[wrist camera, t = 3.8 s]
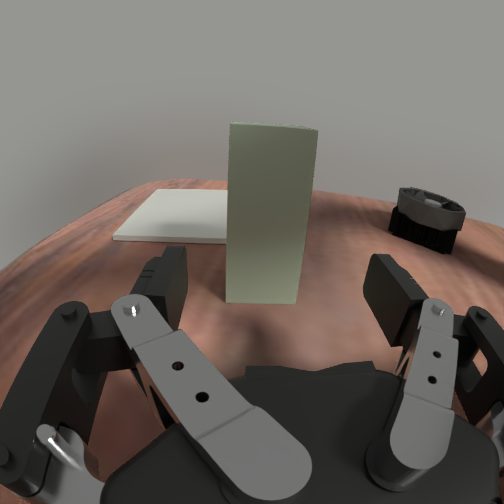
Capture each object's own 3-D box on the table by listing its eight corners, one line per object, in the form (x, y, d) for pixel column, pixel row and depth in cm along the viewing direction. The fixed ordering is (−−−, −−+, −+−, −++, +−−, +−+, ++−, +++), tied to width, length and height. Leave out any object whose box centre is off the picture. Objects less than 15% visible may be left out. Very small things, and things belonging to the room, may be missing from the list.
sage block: (286, 269, 25) (301, 126, 20) (295, 304, 21) (318, 130, 15) (228, 267, 25) (233, 121, 20) (225, 302, 21) (230, 124, 15)
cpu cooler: (466, 217, 26) (390, 191, 32) (452, 261, 29) (380, 234, 35) (466, 203, 33) (407, 182, 39) (457, 238, 36) (399, 217, 42)
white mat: (270, 195, 45) (271, 192, 45) (286, 246, 29) (286, 240, 29) (157, 192, 45) (157, 189, 44) (113, 240, 29) (112, 235, 28)
